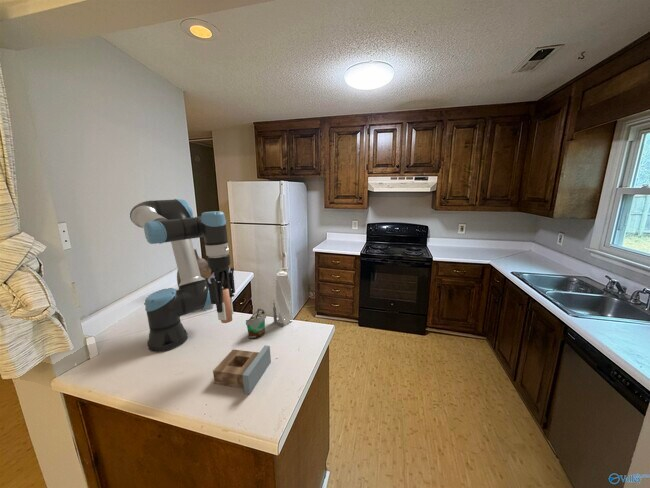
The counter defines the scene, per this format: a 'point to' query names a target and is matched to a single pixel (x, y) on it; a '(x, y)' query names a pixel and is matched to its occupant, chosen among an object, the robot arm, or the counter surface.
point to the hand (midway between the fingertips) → (226, 316)
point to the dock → (256, 369)
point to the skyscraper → (282, 298)
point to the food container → (256, 324)
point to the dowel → (227, 306)
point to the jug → (203, 268)
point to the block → (233, 368)
